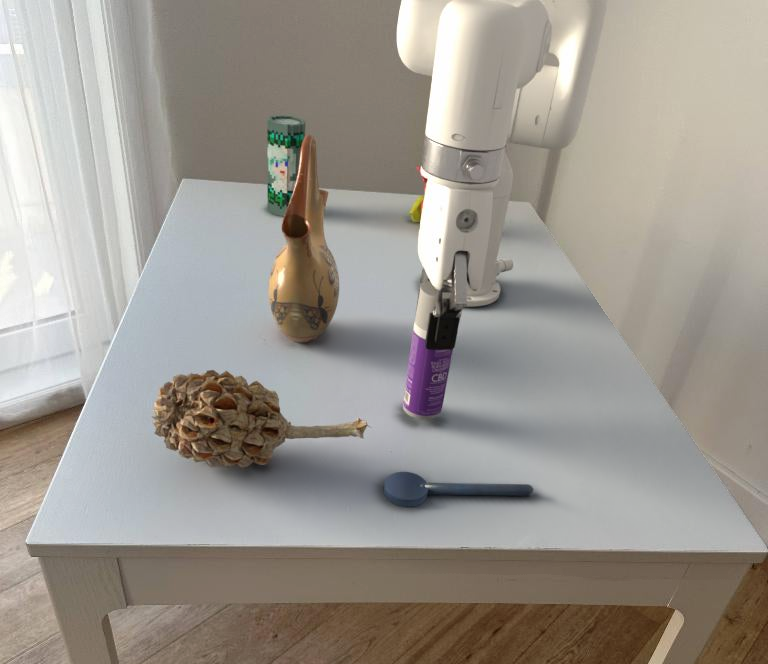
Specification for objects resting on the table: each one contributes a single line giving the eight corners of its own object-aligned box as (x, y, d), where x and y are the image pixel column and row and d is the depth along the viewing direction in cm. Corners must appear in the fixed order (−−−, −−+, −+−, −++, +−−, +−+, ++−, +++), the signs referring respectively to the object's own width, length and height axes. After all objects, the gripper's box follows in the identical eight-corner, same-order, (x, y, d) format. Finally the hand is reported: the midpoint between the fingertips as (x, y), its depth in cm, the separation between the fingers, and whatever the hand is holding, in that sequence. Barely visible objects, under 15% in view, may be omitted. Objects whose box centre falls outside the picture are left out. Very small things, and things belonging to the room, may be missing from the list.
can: (264, 213, 132) (263, 121, 122) (273, 202, 136) (274, 113, 126) (297, 218, 131) (299, 127, 122) (305, 207, 136) (308, 118, 126)
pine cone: (152, 489, 73) (141, 405, 66) (161, 432, 80) (151, 351, 73) (371, 487, 77) (381, 407, 70) (361, 433, 84) (369, 356, 77)
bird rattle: (445, 242, 136) (438, 206, 139) (459, 193, 126) (452, 156, 129) (412, 241, 135) (406, 204, 138) (424, 192, 125) (417, 154, 128)
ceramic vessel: (326, 369, 93) (338, 161, 77) (256, 359, 93) (253, 149, 77) (343, 312, 106) (357, 122, 89) (282, 303, 106) (284, 112, 89)
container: (429, 424, 85) (450, 303, 75) (395, 409, 86) (411, 289, 76) (448, 407, 88) (470, 289, 78) (415, 393, 89) (432, 275, 80)
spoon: (385, 506, 74) (386, 497, 74) (381, 478, 78) (382, 469, 77) (536, 508, 77) (539, 499, 76) (526, 480, 80) (528, 472, 79)
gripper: (527, 193, 63) (486, 376, 75) (477, 136, 76) (449, 301, 88) (443, 189, 62) (415, 376, 74) (406, 131, 74) (387, 300, 86)
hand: (434, 334), depth 81 cm, fingers closed on container, 4 cm apart
